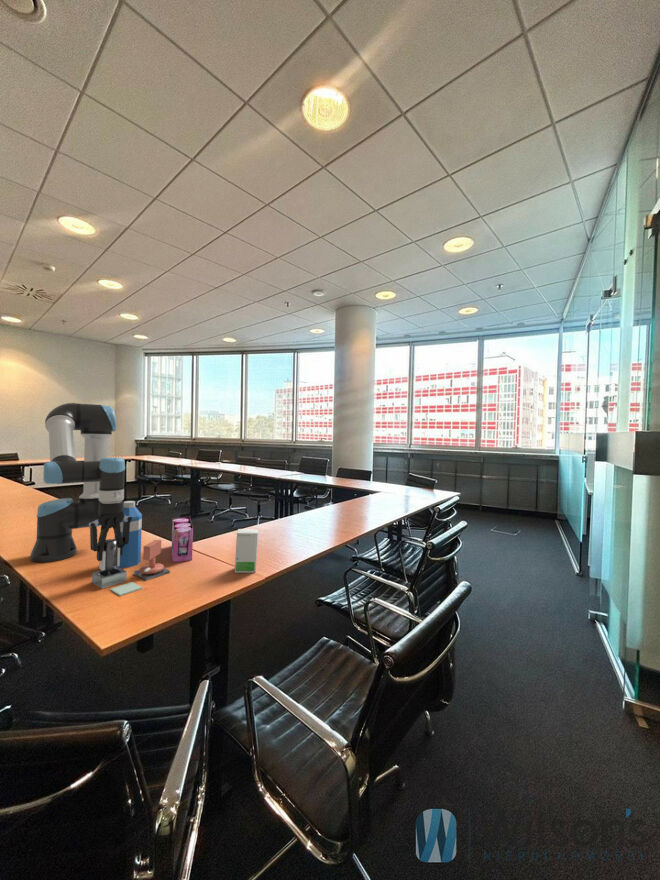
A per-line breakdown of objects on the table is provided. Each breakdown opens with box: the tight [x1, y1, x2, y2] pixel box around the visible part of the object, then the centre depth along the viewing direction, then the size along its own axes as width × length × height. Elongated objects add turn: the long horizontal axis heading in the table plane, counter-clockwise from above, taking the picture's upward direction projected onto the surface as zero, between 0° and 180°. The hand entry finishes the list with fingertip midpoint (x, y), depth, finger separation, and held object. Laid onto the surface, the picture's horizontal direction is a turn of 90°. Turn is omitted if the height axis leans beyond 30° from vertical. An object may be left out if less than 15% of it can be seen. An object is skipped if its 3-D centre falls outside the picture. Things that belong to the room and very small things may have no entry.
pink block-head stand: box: [139, 539, 165, 574], centre depth 129 cm, size 8×8×10 cm
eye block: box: [91, 566, 128, 590], centre depth 121 cm, size 8×8×4 cm
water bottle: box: [118, 500, 143, 569], centre depth 138 cm, size 9×9×25 cm
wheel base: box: [133, 567, 171, 581], centre depth 130 cm, size 9×9×1 cm
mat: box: [110, 581, 143, 597], centre depth 116 cm, size 7×7×1 cm
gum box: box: [171, 516, 194, 563], centre depth 152 cm, size 24×8×14 cm, turn 26°
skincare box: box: [234, 528, 259, 574], centre depth 136 cm, size 8×7×16 cm
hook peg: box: [103, 538, 117, 577], centre depth 121 cm, size 6×4×14 cm
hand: (109, 567), depth 121 cm, fingers closed on hook peg, 4 cm apart
